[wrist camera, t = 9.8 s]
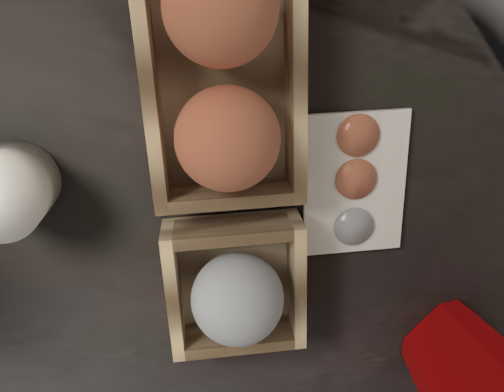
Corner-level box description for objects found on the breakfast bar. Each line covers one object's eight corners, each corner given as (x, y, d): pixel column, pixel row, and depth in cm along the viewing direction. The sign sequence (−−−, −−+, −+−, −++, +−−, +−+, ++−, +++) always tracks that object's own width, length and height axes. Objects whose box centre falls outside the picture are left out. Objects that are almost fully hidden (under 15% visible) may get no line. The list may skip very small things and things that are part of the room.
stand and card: (-35, 134, 28) (-70, 153, 24) (409, 107, 30) (438, 120, 27) (4, 279, 32) (-22, 314, 28) (397, 245, 34) (422, 273, 30)
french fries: (417, 376, 39) (505, 521, 28) (384, 354, 38) (463, 497, 27) (493, 305, 37) (619, 430, 26) (461, 280, 36) (580, 400, 25)
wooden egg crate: (127, -77, 25) (117, -90, 22) (295, -81, 26) (308, -94, 23) (159, 195, 31) (155, 216, 28) (296, 185, 32) (307, 204, 28)
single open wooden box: (162, 218, 31) (158, 241, 28) (296, 207, 32) (307, 229, 29) (175, 330, 35) (173, 362, 32) (296, 318, 35) (306, 348, 32)
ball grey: (187, 239, 32) (185, 288, 26) (275, 232, 32) (291, 278, 27) (194, 314, 34) (194, 373, 28) (277, 306, 34) (292, 362, 29)
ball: (180, 175, 30) (176, 213, 24) (171, 80, 28) (164, 97, 22) (273, 169, 31) (290, 204, 25) (271, 74, 28) (289, 90, 23)
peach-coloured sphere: (158, -49, 25) (147, -67, 20) (269, -53, 26) (288, -70, 20) (170, 66, 28) (163, 79, 22) (271, 60, 28) (289, 72, 22)
